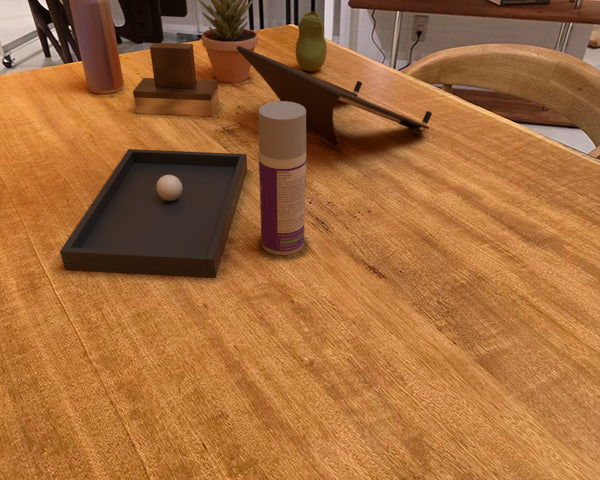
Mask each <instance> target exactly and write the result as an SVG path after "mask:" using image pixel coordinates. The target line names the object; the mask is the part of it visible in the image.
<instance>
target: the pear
mask: <svg viewBox="0 0 600 480" xmlns="http://www.w3.org/2000/svg"><path fill="white" fill-rule="evenodd" d="M297 26H298V27H297V29H298V37H297V40H296V43H295V44H296V45H295V59H296V63H297V65H298V66H299V68H300V69H301V70H302V71H304V72H308V73H309V72H310V73H311V72H316V71H318V70H320V69H321V68H322V67H323V66H324V65H325V62H326V58H327V49H328V47H327V41H326V38H325V24H324V22H323V20H322V19H321V13H320V12H318V11H314V10H311V11H310V12H306V11H304V14H303V16H302V18H301V19H300V21H299V22H298V25H297Z"/></svg>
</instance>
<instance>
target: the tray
mask: <svg viewBox="0 0 600 480" xmlns="http://www.w3.org/2000/svg"><path fill="white" fill-rule="evenodd" d="M247 172H248V155H247V153H229V152H208V151H207V152H205V151H183V150H161V149H142V148H141V149H139V148H138V149H137V148H135V149H134V148H127V151H125V153H124V155H123V157H122V158H121V159H120V160H119V162H118V163H117V165H116V167H115V168H114V169H113V171H112V173H111V174H110V176H109V177H108V178H107V180H106V182H105V183H104V184H103V186H102V187H101V189H100V191H99V192H98V194H97V195H96V197H95V198H94V199H93V201H92V203H91V204H90V205H89V207H88V208H87V210H86V212H85V213H84V215H83V216H82V217H81V219H80V220H79V222H78V224H76V227H75V228H74V229H73V230H72V233H71V234H70V235H69V237H68V238H67V240H66V241H65V243H64V245H63V246H61V249H60V250H59V254H60V257H61V261H62V264H63V266H64V267H63V268H64V270H67V271H68V270H69V271H83V272H85V271H86V272H105V273H121V274H123V273H124V274H141V275H142V274H143V275H162V276H178V277H179V276H181V277H196V278H197V277H199V278H217V275H218V272H219V268H220V264H221V261H222V257H223V254H224V251H225V249H226V248H225V247H226V244H227V241H228V238H229V234H230V230H231V227H232V224H233V220H234V217H235V213H236V210H237V206H238V203H239V200H240V197H241V194H242V193H241V192H242V190H243V186H244V182H245V180H246V176H247ZM165 175H173V176H175V177H177V178H178V179H179V180H180V182H181V184H182V193H181V195H180V196H179V197H178V198H177V199H176V200H173V201H167V200H164V199H162V198H161V197H160V196H159V195H158V193H157V190H156V185H157V182H158V180H159V179H160V178H161V177H163V176H165Z"/></svg>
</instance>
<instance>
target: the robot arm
mask: <svg viewBox="0 0 600 480" xmlns="http://www.w3.org/2000/svg"><path fill="white" fill-rule="evenodd" d="M124 6H125V14H126V19H127V26H128V33H129V39H130V40H131V42H132V43H139V44H140V43H141V44H153V43H158V44H159V43H163V41H165V36H164V29H163V27H164V26H163V19H162V17H168V18H169V17H171V18H186V17H187V15H188V12H189V11H188V2H187V0H124Z"/></svg>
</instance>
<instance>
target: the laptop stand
mask: <svg viewBox="0 0 600 480" xmlns="http://www.w3.org/2000/svg"><path fill="white" fill-rule="evenodd" d="M237 50H238V51H239V52H240V53H241V54H242V55H243V56H244V58H245V59H246V60H247V61H248V62H249V63H250V64H251V67H253V68H254V69H255V71H256V72H257V73H258V74H259V76H260V77H261V78H262V79H263V80H264V82H265V83H266V84H267V85H268V86H269V87H270V89H271V90H272V92H273V93H274V94H275V96H276V98H278V99H279V101H287V102H294V103H297V104H300V105H302V106H303V107H305V109H306V130H308V131H310V132H313V133H314V134H316V135H318V136H319V137H320V138H322V139H323V140H325V141H327V142H328V143H330V144H331V145H333V146H334V147H338V146H339V145H340V142H339V139H338V136H337V134H336V129H335V127H334V109H335V106H336V104H337V102H338V101H339V102H342V103H345V104H347V105H350V106H353V107H355V108H357V109H360V110H362V111H365V112H368V113H371V114H373V115H376V116H378V117H381V118H383V119H386V120H389V121H392V122H394V123H397V124H398V125H400V126H403V127H406V128H407V130H408V131H411V132H412V133H415V134H417V135H419V136H422V134H423V130H424V129H427V130H429V129H430V127H429V126H428V124H429V121H430V119H431V117H432V115H433V113H432V111H429V110H427V111H426V112H425V114H424V115H423V118H422V120H421V122H419V121H416V120H414V119H412V118H409V117H407V116H404V115H402V114H399V113H397V112H395V111H393V110H390V109H387V108H385V107H382V106H380V105H378V104H375V103H372V102H370V101H368V100H366V99H364V98H361V97H359V93H360V90H361V89H362V85H363V82H362V81H360V80H357V81H356V83H355V86H354V88H353V91H350V90H348V89H346V88H344V87H341V86H338V85H337V84H335V83H332V82H330V81H327V80H325V79H322V78H320V77H317V76H315V75H312V74H310V73H307V72H306V71H304V70H301V69H298V68H295V67H293V66H290V65H287V64H286V63H283V62H280V61H278V60H275V59H273V58H271V57H268V56H265V55H263V54H261V53H258V52H256V51H254V52H253V51H251V50H248V49H246V48H243V47H241V46H237Z"/></svg>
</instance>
